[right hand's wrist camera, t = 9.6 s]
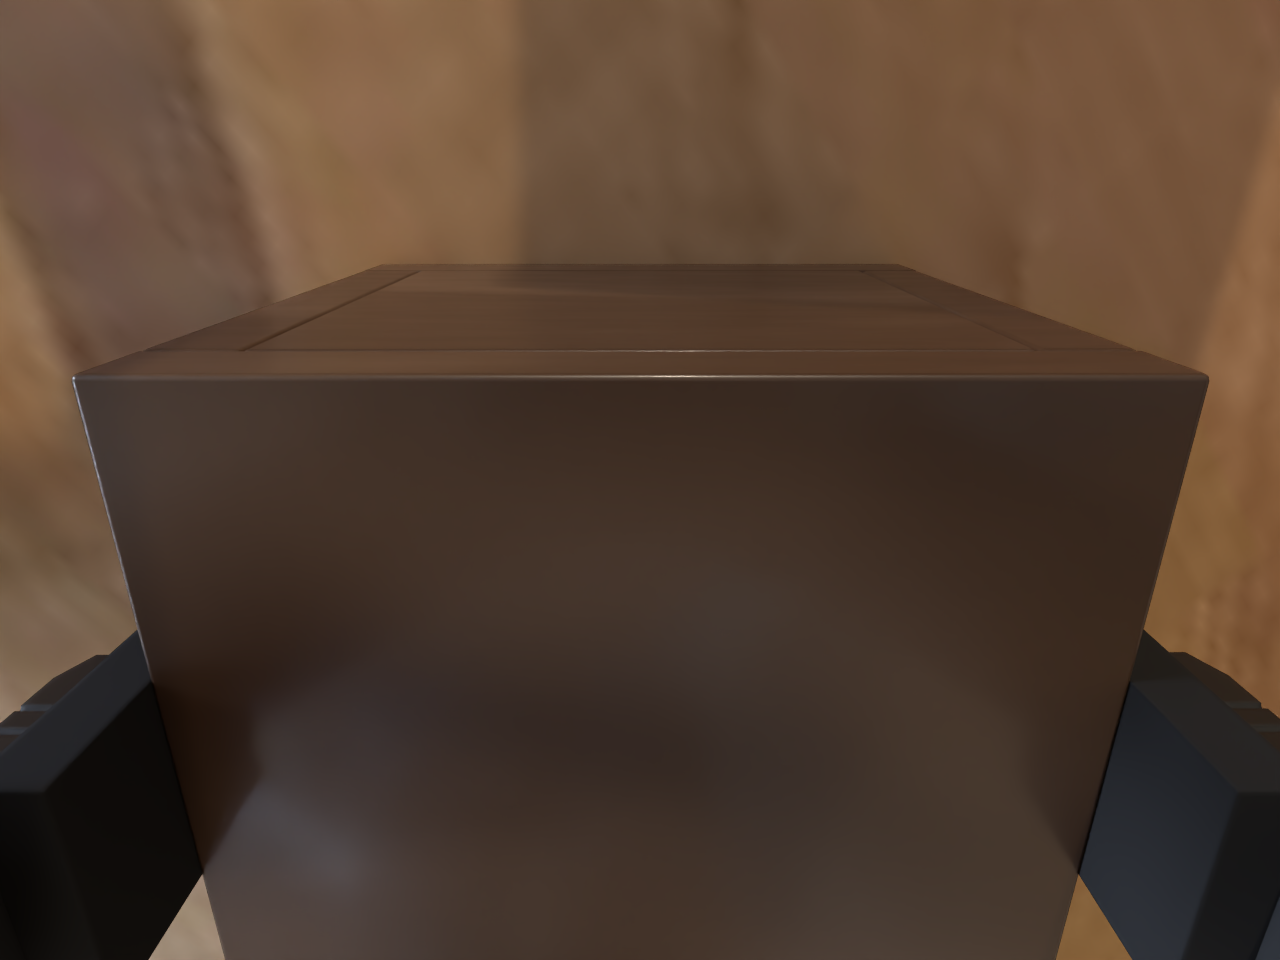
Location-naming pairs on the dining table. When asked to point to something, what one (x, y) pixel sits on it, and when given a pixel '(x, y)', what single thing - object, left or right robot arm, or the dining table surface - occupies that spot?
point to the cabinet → (640, 607)
